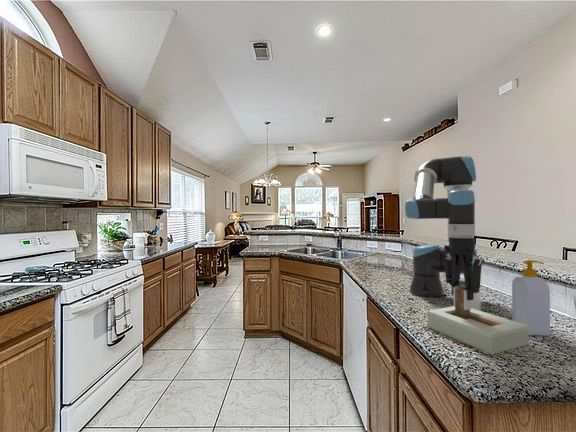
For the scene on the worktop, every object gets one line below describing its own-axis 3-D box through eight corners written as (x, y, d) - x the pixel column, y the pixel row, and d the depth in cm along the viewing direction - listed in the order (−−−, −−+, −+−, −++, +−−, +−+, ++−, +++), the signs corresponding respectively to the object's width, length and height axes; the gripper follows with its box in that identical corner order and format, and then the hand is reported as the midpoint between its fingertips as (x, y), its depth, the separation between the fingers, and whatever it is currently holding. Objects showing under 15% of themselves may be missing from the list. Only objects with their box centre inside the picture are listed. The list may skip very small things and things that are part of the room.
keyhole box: (427, 326, 102) (427, 310, 102) (461, 320, 108) (460, 304, 108) (491, 354, 81) (491, 334, 81) (528, 344, 87) (528, 325, 87)
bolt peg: (451, 327, 100) (450, 285, 100) (461, 325, 101) (460, 284, 101) (464, 332, 95) (463, 289, 95) (474, 330, 97) (474, 287, 97)
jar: (456, 317, 111) (456, 285, 110) (451, 310, 118) (451, 280, 118) (484, 319, 108) (483, 286, 108) (477, 312, 116) (477, 281, 116)
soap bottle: (553, 337, 92) (552, 263, 92) (528, 335, 93) (527, 262, 93) (535, 326, 101) (534, 258, 101) (512, 325, 102) (511, 258, 102)
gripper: (433, 235, 104) (434, 302, 104) (476, 239, 89) (477, 316, 89) (448, 235, 107) (449, 300, 107) (493, 238, 92) (494, 313, 92)
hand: (462, 307), depth 98 cm, fingers closed on bolt peg, 3 cm apart
